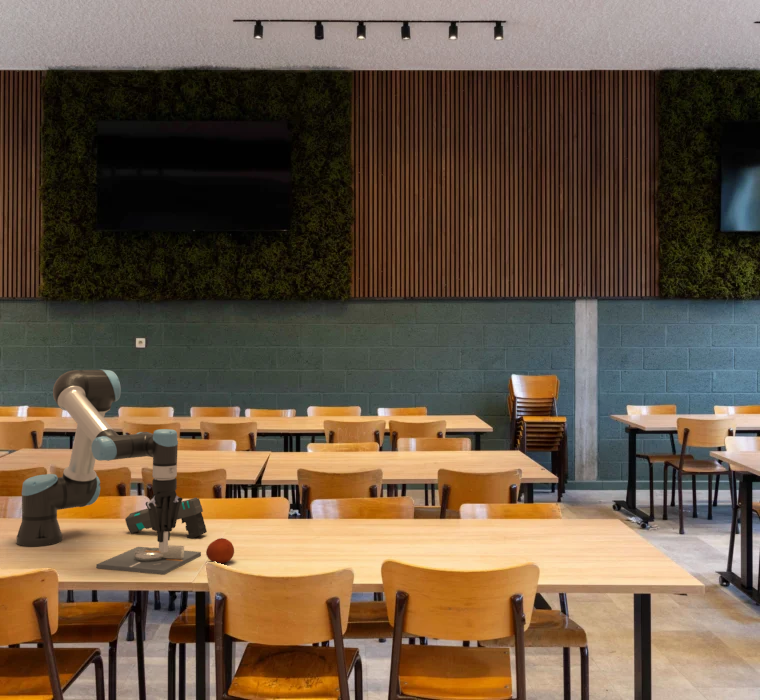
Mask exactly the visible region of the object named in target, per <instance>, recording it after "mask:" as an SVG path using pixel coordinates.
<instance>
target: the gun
mask: <svg viewBox="0 0 760 700" xmlns="http://www.w3.org/2000/svg"><path fill="white" fill-rule="evenodd" d="M155 508H156V506H155ZM156 512H157V510H156ZM203 512H204V510H203V506H202V504H201V500H200V498H199V497H193V498H189V499H185V500H182V502H181V504H180V507H179V512H178V516H177V520H180V519H181V524H184V523H185V530H186V531H187V534H186V538H187V539H188V540H189V539H194V538H197V537H200V536H202V535H204V534H206V533H207V532H208V531H207V530H208V529H207V527H206V524H205V520H204V517H203ZM125 525H126V527H127V529H128V531H129V533H130V534H134V533H137V532H141V531H143V530H144V529H146V530H149V529H152V527H151V521H150V516H149V511H148V508H147V507H146V508H145V509H141V510H137V511H134V512H131V513H129V515H128V516H126V518H125Z"/></svg>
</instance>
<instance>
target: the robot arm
mask: <svg viewBox="0 0 760 700" xmlns="http://www.w3.org/2000/svg"><path fill="white" fill-rule="evenodd" d="M121 387H122V386H121V383H120V378H119V377H118V375H117V374H116V373H115V371H113V370H109V369H108V370H107V369H86V370H85V369H84V370H83V369H82V370H81V369H79V370H75V369H74V370H68V371H67V372H65V373H62V374H61V375H59V377H58V378H57V379H56V381H55V383H54V384H53V388H52V395H53V399H54V401H55V404H56V405H57V406H58V407H59V408H60V409H62V410H63V411H66V412H67V414H69V416H71V418H72V419H73V420H74V422H76V429H75V434H74V441H73V445H72V448H71V455H70V461H69V464H68V466H67V467H65V468H64V469H63V471H62V472H63V473H62V476H61V477H58V475H57V474H54V473H46V474H39V475H34V476H31V477H29V478H26V479H25V480H24V481H23V482H22V487H21V488H22V489H21V523H20V526H19V529H18V533H17V535H16V537H15V538H16V541H15V542H16V544H17V545H19V546H22V547H41V546H49V545H54V544H57V543H60V542H62V541H63V533H62V531H61V527H60V525H59V521H58V511H59V510H65V509H73V508H82V507H87V506H91V505H92V504H94V503H95V502H96V501H97V500H98V499H99V496H100V493H101V480H100V478H99V476H98V474H97V472H96V471H95V470H94V468H95V465H96V460H97V461H101V462H102V461H105V462H106V461H107V462H108V461H109V462H110V461H115V460H122V459H133V458H134V459H135V458H142V457H149V458H152V478H153V479H152V482H151V483H152V485H151V486H152V487H151V488H152V492H153V494H152V496H151V499H150V500H149V501H146V502H145V506H146V509H147V508H148V511H149V516H150V521H151V527H152V528H151V530H152V531H154V532H157V533H156V534H157V538H156V541H157V542H158V548H159V551H160V552H163V553H165V552H168V545H169V541H170V540H171V539H170V537H171V532H172V531H173V529H174V528H176V526H177V516H178V512H179V507H180V504H181V502H182V501H183V497H180V496H178V495H177V492H176V491H177V488H178V485H177V484H178V482H177V481H178V480H177V474H178V469H177V468H178V446H179V445H178V444H179V440H178V432H177V430H175V429H172V428H171V429H169V428H168V429H167V428H163V429H161V428H160V429H155V430H153V433H151V432H147V431H139V432H136V433H133V434H121V435H119V434H118V433H117V432H116V431H115V429H114V428H112V426H111V425H110V424H109V422H108V421H107V420H106V419H105V415H106V413H107V412H108V411H111V407H112V403H115V402H118V400H120V398H121V394H122V389H121ZM155 506H156V508H155ZM156 510H157V512H156Z"/></svg>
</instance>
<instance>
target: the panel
mask: <svg viewBox="0 0 760 700" xmlns="http://www.w3.org/2000/svg"><path fill="white" fill-rule="evenodd" d="M144 548H149V547H146V546H136V547H134V548H132V549H129V550H126V551H124V552H122V553H120V554H117V555H116V556H113V557H110V558H108V559H106V560H104V561H101V562H99V563H96V569H102V570H103V569H104V570H111V571H124V572H133V573H134V572H135V573H145V574H154V575H155V574H156V575H166V574H167V573H169V572H171V571H173V570H175V569H177V568H179V567H181V566H183V565H185V564H187V563H189V562H191V561H194V560H195V559H196V558H198V557H202V556H201V555H202V552H201V551H196V550H195V551H194V550H184V557H183V558H182V559H176V558H165V559H162V560H159V561H151V562H142V561H137V560H135V559H134V552H135V551H137V550H140V549H144Z"/></svg>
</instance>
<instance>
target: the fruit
mask: <svg viewBox="0 0 760 700" xmlns="http://www.w3.org/2000/svg"><path fill="white" fill-rule="evenodd" d="M205 552H206V554H205V555H206V557H207V559H208V560H210V561H211V562H212V561H216V562H219V563H218V564H226V563H228V562H229V561H231V560H232V559H233V557H234V554H235V548H234V544H232V542H231V541H230V540H229V539H227V538H222V537H220V538H217V539H215V540H213V541H211V542H210V543H209V544H208V546H207V547H206V550H205Z"/></svg>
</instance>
